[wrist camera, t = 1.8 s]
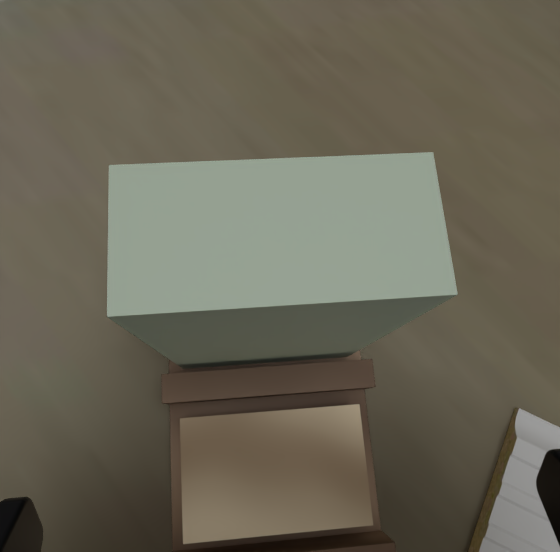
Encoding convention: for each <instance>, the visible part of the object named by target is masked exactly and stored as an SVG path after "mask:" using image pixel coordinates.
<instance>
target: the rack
mask: <svg viewBox="0 0 560 552" xmlns="http://www.w3.org/2000/svg"><path fill="white" fill-rule="evenodd" d="M161 377H162V403H163V404H170V447H171V498H172V550H173V551H172V552H396V547H395V542H394V541H393V540H391V539H390V538H389V537H388V536H387V535H386V534H385V533H384V532H382V531H381V525H380V516H379V508H378V499H377V491H376V483H375V474H374V466H373V457H372V449H371V440H370V432H369V423H368V415H367V406H366V398H365V389H368V388H373V387H376V385H375V377H374V369H373V361H372V359H365V360H361V355H360V350H359V351H357V352H355V353H353V354H352V355H350V356H348V357H341V358H327V359H314V360H300V361H286V362H272V363H258V364H244V365H230V366H216V367H202V368H189V369H183V368H181V367H180V366H178V365H177V364H175V363H174V362H172V361H171V360H170V359H169V374H161ZM354 404H359V405H360V414H361V422H362V431H363V440H364V448H365V457H366V466H367V475H368V483H369V492H370V501H371V510H372V518H373V525H370V526H360V527H350V528H340V529H330V530H320V531H310V532H300V533H290V534H280V535H270V536H260V537H250V538H240V539H230V540H220V541H210V542H200V543H190V544H183V524H182V483H181V442H180V418H191V417H204V416H217V415H229V414H242V413H254V412H267V411H279V410H292V409H304V408H317V407H329V406H342V405H354Z"/></svg>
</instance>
